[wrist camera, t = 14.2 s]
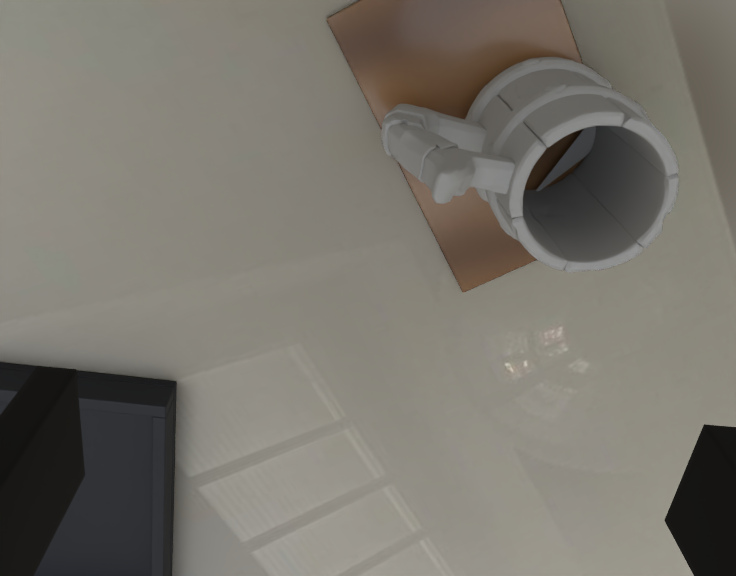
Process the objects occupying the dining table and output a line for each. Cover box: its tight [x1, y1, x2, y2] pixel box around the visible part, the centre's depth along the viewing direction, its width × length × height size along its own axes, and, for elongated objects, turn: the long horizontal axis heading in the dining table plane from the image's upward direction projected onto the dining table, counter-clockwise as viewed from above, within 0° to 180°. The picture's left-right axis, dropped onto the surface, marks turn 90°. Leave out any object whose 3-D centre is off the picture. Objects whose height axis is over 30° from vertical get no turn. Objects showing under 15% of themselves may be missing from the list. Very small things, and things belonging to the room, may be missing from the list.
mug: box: [382, 57, 679, 272], centre depth 29 cm, size 8×12×12 cm, turn 80°
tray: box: [0, 362, 176, 576], centre depth 44 cm, size 19×16×3 cm
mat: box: [327, 0, 585, 292], centre depth 34 cm, size 16×10×1 cm, turn 27°
